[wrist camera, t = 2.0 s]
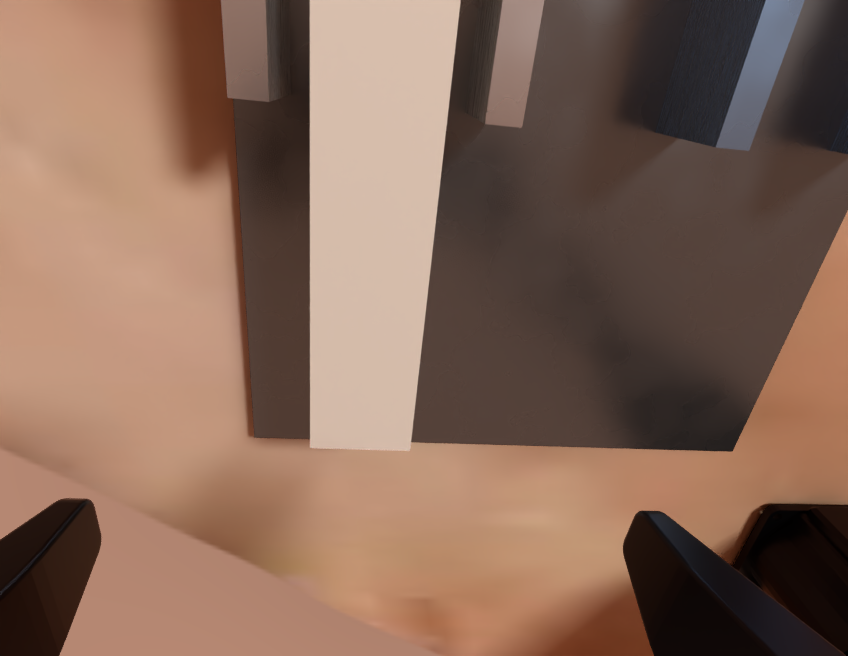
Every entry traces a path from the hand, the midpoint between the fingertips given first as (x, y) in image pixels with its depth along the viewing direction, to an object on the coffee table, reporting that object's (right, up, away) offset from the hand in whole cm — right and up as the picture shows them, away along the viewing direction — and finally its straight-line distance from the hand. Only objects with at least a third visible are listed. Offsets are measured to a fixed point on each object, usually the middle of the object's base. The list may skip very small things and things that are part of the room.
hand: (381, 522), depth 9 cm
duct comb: (+5, +8, +10) cm, 14 cm away
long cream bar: (-1, +8, +9) cm, 12 cm away
